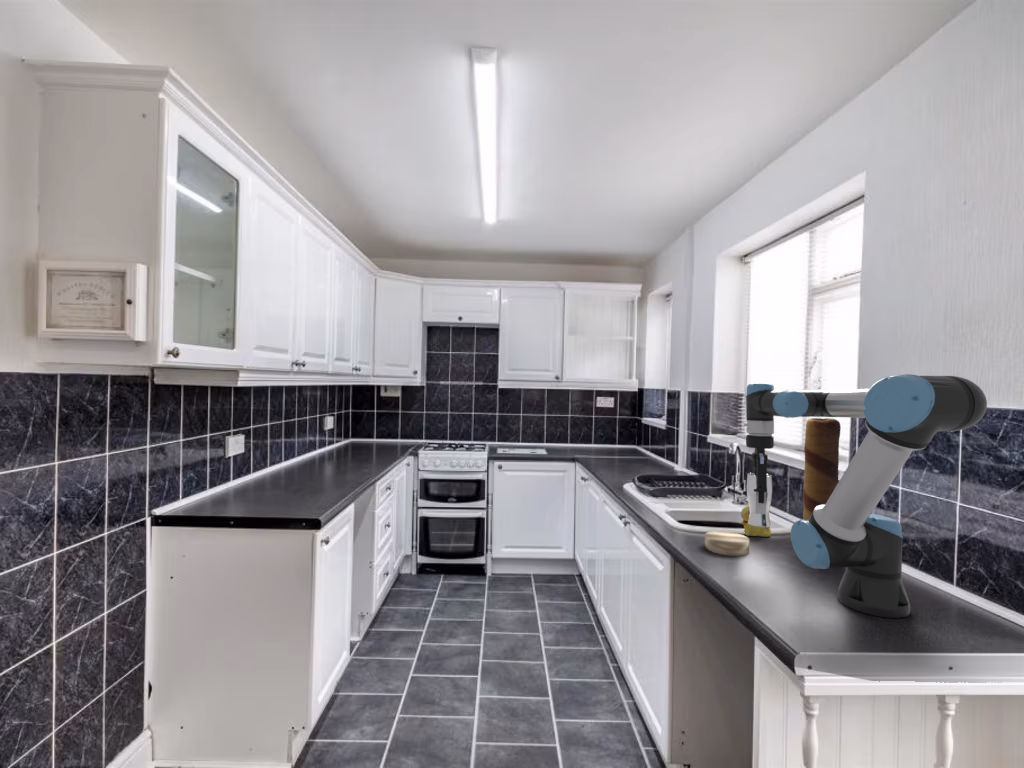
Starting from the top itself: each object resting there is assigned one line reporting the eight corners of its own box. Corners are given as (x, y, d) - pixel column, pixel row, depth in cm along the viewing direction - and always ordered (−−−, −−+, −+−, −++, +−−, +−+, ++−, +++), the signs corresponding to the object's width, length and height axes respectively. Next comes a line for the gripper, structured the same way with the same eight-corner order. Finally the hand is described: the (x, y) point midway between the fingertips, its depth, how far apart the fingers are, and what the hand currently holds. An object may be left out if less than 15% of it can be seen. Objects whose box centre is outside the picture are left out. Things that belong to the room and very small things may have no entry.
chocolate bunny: (737, 533, 192) (738, 493, 192) (767, 534, 192) (767, 494, 192) (745, 538, 185) (745, 497, 185) (776, 539, 185) (776, 498, 185)
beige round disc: (751, 558, 165) (751, 545, 165) (704, 552, 170) (704, 540, 170) (747, 545, 178) (747, 533, 178) (704, 540, 183) (704, 529, 183)
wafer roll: (845, 559, 165) (847, 419, 165) (812, 558, 165) (814, 419, 165) (826, 548, 175) (828, 417, 175) (795, 548, 175) (797, 417, 175)
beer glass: (771, 523, 155) (771, 473, 155) (772, 528, 149) (772, 477, 149) (746, 520, 158) (746, 471, 158) (746, 525, 152) (746, 475, 152)
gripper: (743, 431, 164) (743, 503, 164) (748, 436, 146) (748, 517, 146) (769, 432, 162) (769, 505, 162) (778, 437, 143) (777, 519, 143)
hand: (759, 510), depth 154 cm, fingers closed on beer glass, 7 cm apart
